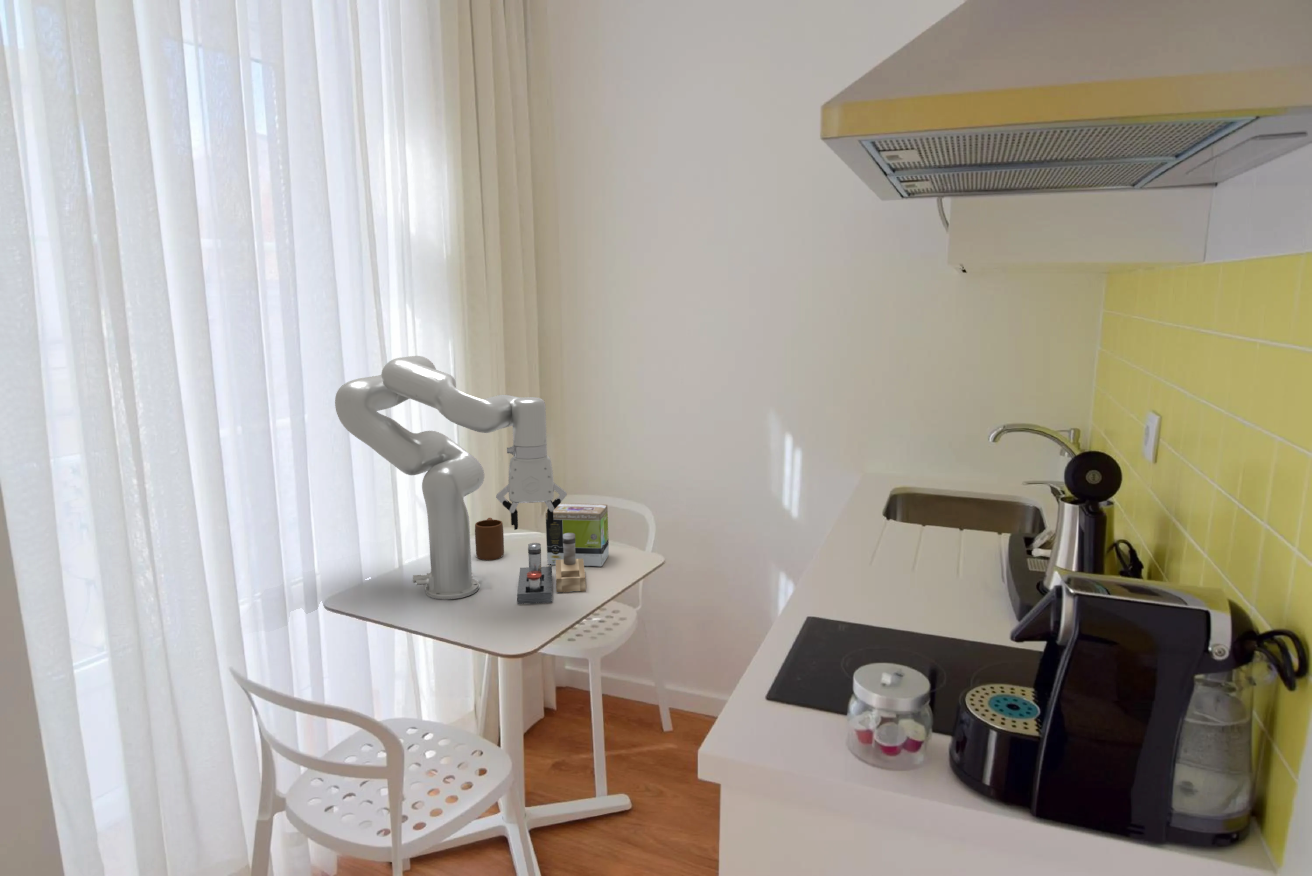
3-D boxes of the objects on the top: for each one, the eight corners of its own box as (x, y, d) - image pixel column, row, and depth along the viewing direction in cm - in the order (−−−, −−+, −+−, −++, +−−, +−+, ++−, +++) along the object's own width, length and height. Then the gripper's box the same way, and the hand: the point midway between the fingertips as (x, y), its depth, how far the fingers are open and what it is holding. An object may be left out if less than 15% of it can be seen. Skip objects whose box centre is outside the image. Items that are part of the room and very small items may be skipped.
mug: (477, 547, 223) (476, 515, 221) (504, 546, 224) (503, 514, 223) (475, 561, 211) (473, 527, 210) (504, 559, 213) (502, 526, 211)
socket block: (517, 604, 182) (517, 594, 182) (520, 577, 200) (520, 567, 199) (552, 602, 183) (551, 592, 183) (552, 575, 201) (552, 566, 200)
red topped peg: (527, 597, 183) (526, 576, 182) (527, 592, 186) (527, 571, 185) (542, 597, 183) (541, 575, 182) (542, 591, 187) (541, 570, 186)
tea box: (609, 555, 216) (608, 503, 213) (601, 568, 206) (600, 513, 204) (556, 553, 218) (554, 501, 215) (546, 565, 208) (544, 511, 206)
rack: (556, 592, 189) (555, 549, 187) (556, 572, 203) (555, 531, 201) (585, 591, 190) (584, 547, 188) (583, 571, 203) (582, 530, 202)
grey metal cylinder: (529, 590, 191) (527, 547, 189) (529, 585, 194) (528, 543, 192) (542, 589, 191) (540, 546, 189) (542, 585, 194) (540, 542, 192)
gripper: (490, 456, 174) (493, 533, 177) (569, 454, 176) (570, 530, 179) (492, 449, 181) (495, 524, 184) (568, 447, 183) (570, 521, 186)
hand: (532, 526), depth 182 cm, fingers open, 7 cm apart
